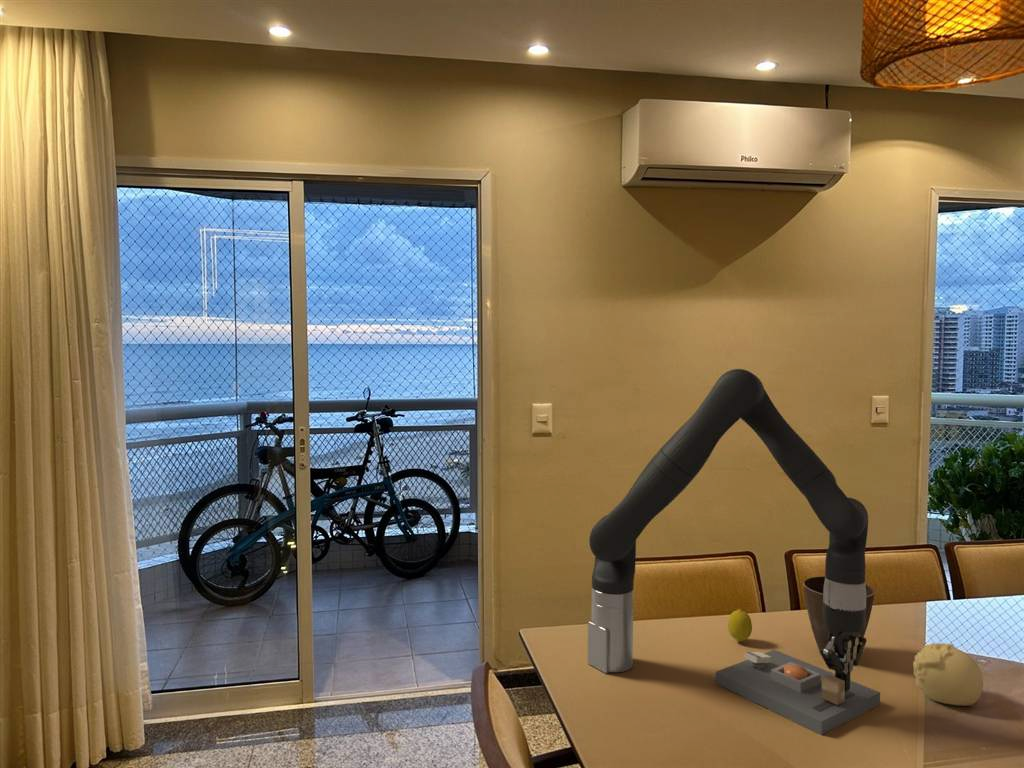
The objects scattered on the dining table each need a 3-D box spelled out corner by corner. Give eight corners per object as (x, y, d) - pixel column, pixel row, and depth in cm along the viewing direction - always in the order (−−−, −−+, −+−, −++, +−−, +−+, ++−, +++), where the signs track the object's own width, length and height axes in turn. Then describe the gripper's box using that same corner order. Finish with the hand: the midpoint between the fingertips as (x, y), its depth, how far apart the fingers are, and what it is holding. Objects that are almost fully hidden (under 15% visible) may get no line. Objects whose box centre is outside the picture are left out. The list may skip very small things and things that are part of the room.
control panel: (821, 735, 125) (821, 710, 125) (715, 683, 145) (715, 662, 145) (879, 704, 136) (880, 682, 136) (774, 660, 156) (774, 641, 156)
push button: (798, 686, 138) (798, 676, 138) (779, 677, 141) (779, 668, 141) (811, 680, 140) (811, 670, 140) (792, 672, 144) (792, 662, 144)
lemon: (753, 647, 163) (753, 614, 163) (728, 645, 164) (729, 612, 164) (750, 638, 169) (750, 606, 168) (726, 636, 170) (727, 604, 170)
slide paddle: (837, 705, 130) (837, 684, 130) (821, 698, 133) (821, 677, 133) (844, 701, 132) (844, 680, 132) (828, 694, 134) (829, 674, 134)
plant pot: (866, 675, 149) (867, 602, 149) (794, 657, 158) (795, 588, 158) (878, 652, 161) (880, 584, 161) (811, 636, 170) (812, 572, 170)
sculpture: (917, 679, 147) (918, 629, 147) (985, 697, 140) (986, 644, 139) (907, 699, 139) (908, 646, 138) (979, 719, 131) (980, 663, 131)
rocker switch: (756, 663, 145) (757, 656, 146) (744, 658, 148) (745, 651, 148) (770, 662, 148) (771, 656, 148) (758, 657, 151) (759, 651, 151)
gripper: (844, 590, 141) (842, 673, 141) (806, 602, 133) (804, 690, 134) (881, 601, 134) (879, 688, 135) (843, 615, 127) (841, 707, 128)
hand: (842, 689), depth 134 cm, fingers closed
